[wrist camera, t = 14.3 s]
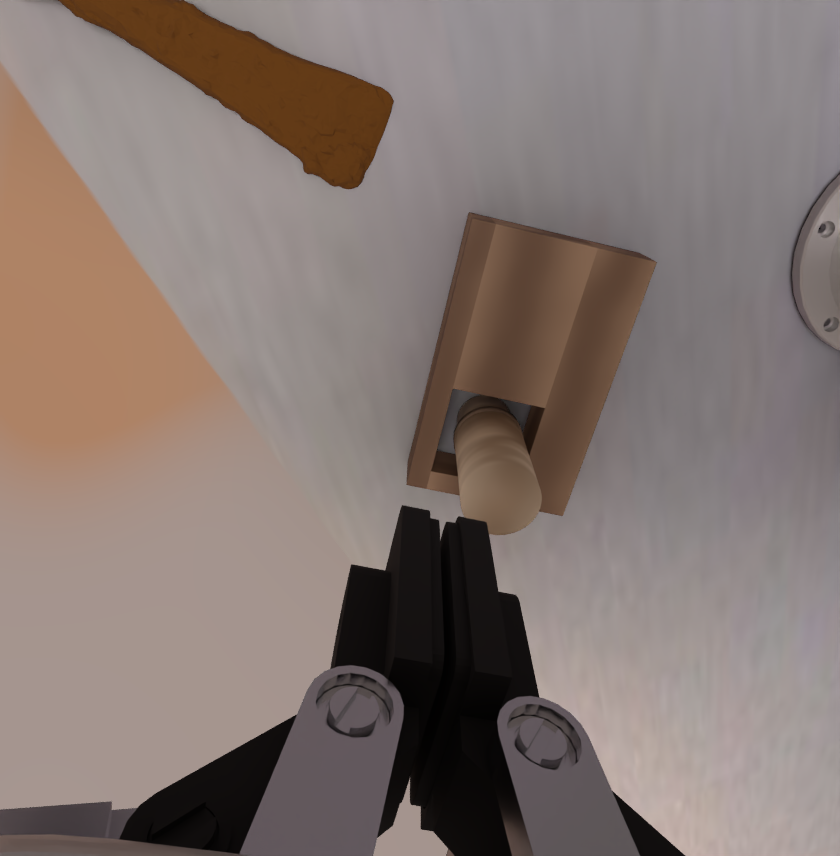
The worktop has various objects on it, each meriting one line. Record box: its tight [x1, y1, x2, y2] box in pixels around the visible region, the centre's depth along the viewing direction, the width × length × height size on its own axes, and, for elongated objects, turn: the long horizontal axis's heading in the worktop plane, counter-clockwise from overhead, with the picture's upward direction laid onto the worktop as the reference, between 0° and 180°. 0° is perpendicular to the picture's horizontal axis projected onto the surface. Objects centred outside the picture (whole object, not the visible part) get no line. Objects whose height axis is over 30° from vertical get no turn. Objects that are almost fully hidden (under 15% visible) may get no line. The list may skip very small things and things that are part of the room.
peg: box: [453, 395, 542, 535], centre depth 36 cm, size 4×4×10 cm
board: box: [407, 212, 657, 516], centre depth 38 cm, size 10×16×3 cm, turn 167°
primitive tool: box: [58, 0, 393, 189], centre depth 31 cm, size 19×6×4 cm, turn 65°
